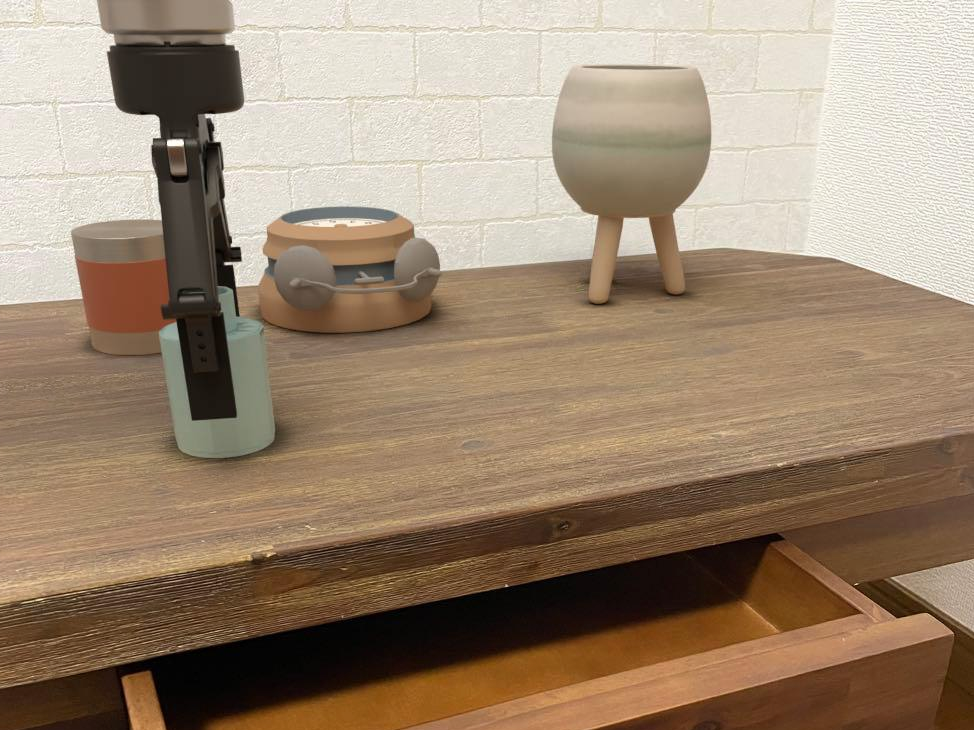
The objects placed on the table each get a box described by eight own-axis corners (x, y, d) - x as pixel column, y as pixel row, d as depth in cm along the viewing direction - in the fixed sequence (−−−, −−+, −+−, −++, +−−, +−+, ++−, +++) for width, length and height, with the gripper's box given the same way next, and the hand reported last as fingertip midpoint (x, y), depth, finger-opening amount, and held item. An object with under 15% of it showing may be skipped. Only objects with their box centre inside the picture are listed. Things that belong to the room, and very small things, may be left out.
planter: (572, 315, 104) (577, 71, 94) (535, 279, 118) (536, 63, 108) (722, 307, 108) (743, 70, 97) (669, 273, 121) (682, 63, 111)
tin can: (76, 355, 91) (53, 238, 86) (110, 327, 99) (91, 219, 94) (182, 355, 91) (164, 238, 86) (208, 327, 99) (193, 219, 95)
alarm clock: (401, 198, 111) (471, 237, 92) (405, 284, 115) (473, 339, 96) (237, 206, 105) (277, 251, 86) (248, 297, 109) (288, 359, 90)
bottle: (165, 459, 70) (140, 304, 65) (191, 423, 76) (170, 279, 71) (264, 458, 70) (246, 304, 66) (282, 423, 76) (267, 279, 72)
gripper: (227, 46, 52) (275, 445, 61) (244, 36, 73) (277, 331, 83) (66, 46, 50) (141, 455, 60) (132, 36, 72) (179, 337, 81)
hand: (220, 384), depth 71 cm, fingers open, 13 cm apart
